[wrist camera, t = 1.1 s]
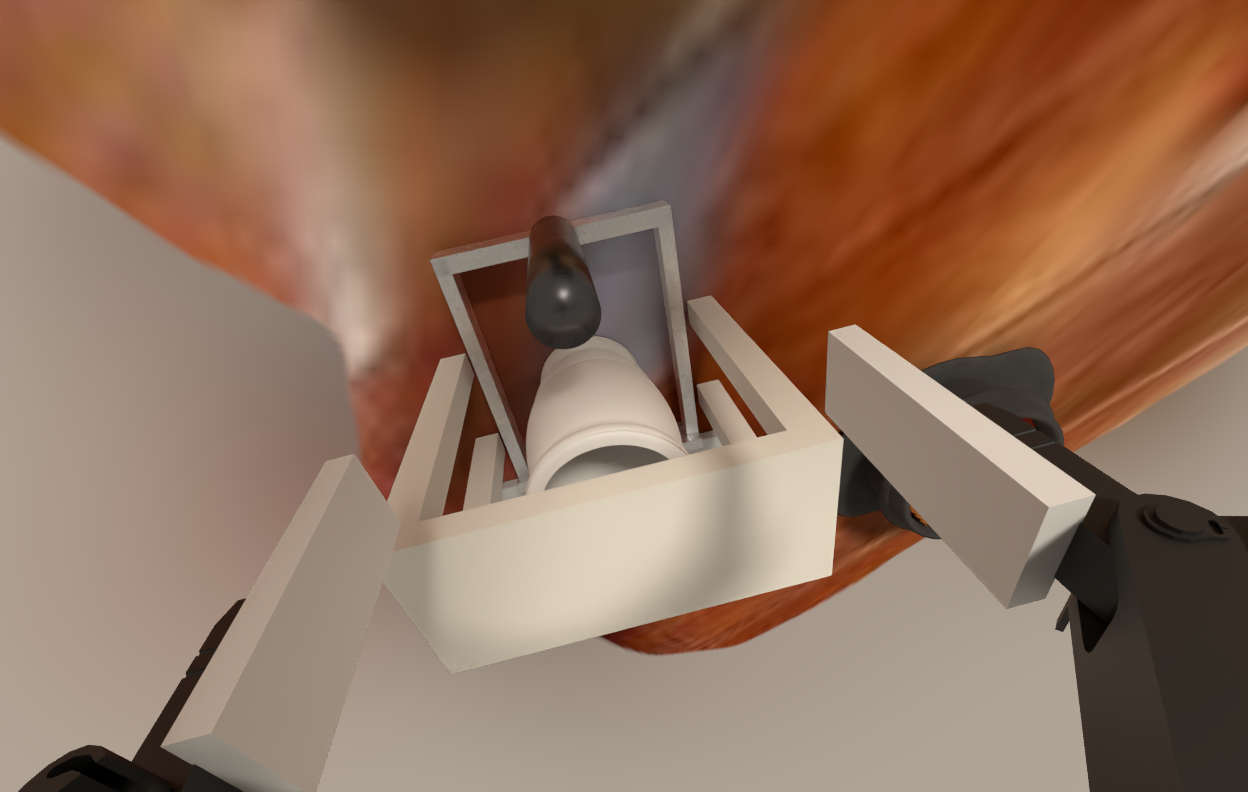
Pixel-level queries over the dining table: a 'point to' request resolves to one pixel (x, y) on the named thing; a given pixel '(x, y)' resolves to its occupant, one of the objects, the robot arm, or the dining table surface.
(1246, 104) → the dining table surface
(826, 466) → the open rectangular frame
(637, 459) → the jar
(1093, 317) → the dining table surface
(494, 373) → the picture frame
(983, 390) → the casserole
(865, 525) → the dining table surface
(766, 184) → the dining table surface
